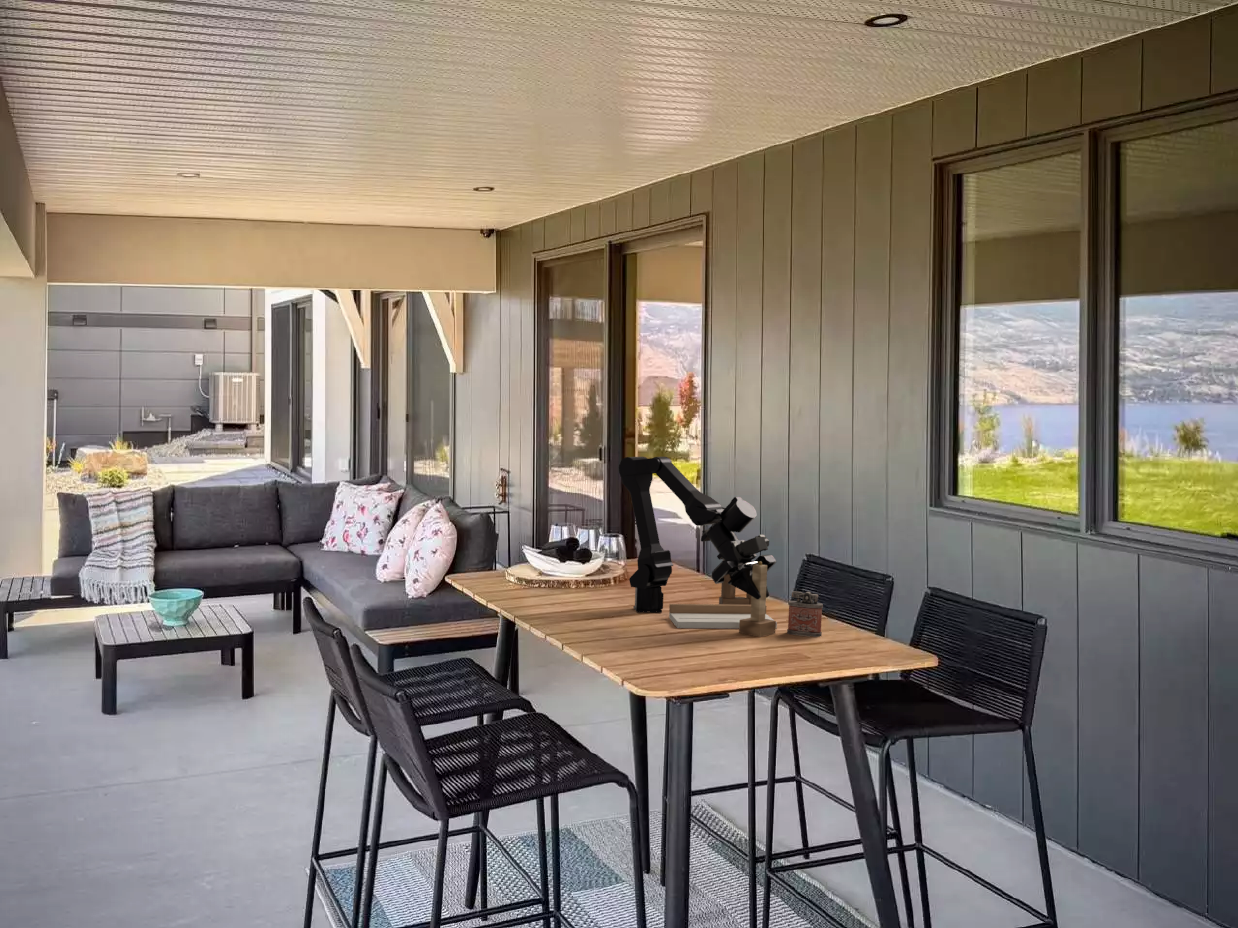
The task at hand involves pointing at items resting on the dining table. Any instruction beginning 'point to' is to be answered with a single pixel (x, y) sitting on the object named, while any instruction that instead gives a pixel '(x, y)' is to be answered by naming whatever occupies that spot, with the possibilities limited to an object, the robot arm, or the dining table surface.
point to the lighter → (805, 615)
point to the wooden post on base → (758, 607)
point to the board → (709, 615)
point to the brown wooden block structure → (732, 594)
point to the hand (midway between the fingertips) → (763, 597)
